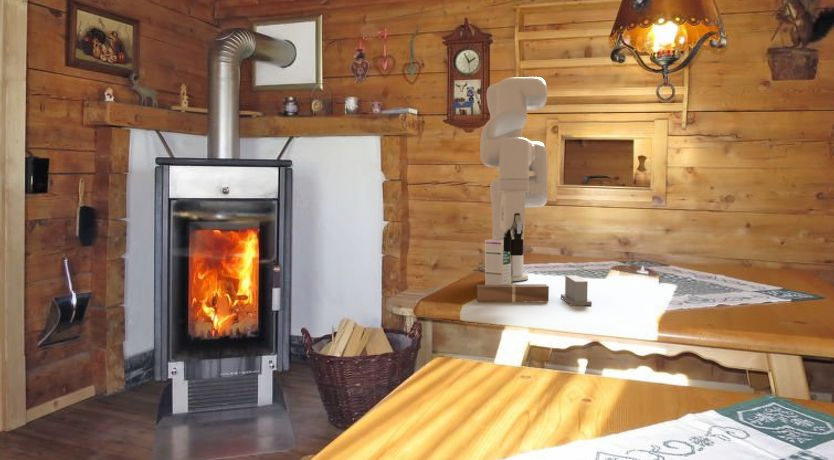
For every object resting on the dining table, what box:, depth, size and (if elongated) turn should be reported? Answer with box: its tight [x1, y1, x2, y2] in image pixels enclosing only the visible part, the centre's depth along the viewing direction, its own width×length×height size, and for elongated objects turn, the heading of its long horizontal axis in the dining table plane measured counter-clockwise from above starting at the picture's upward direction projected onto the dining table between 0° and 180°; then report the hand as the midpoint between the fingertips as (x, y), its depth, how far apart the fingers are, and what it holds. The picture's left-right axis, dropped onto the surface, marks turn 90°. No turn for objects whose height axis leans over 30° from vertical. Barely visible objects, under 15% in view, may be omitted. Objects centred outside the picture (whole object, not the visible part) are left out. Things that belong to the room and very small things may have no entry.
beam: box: [476, 283, 550, 303], centre depth 183 cm, size 4×18×4 cm, turn 93°
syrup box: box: [484, 238, 514, 285], centre depth 198 cm, size 6×6×14 cm
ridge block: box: [560, 274, 593, 306], centre depth 181 cm, size 11×5×6 cm, turn 3°
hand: (513, 253), depth 181 cm, fingers open, 9 cm apart
